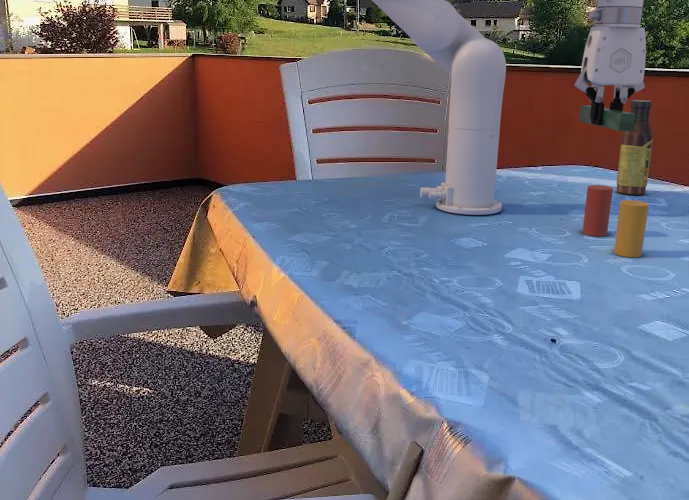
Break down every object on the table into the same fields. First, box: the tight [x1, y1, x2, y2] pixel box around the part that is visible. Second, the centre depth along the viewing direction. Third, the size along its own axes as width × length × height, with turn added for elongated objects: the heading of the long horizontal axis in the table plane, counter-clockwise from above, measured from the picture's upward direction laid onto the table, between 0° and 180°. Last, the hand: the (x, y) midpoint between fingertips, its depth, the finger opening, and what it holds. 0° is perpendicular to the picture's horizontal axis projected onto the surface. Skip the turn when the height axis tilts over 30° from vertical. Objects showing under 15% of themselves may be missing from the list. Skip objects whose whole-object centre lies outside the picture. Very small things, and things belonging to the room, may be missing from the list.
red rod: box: [582, 184, 614, 237], centre depth 119 cm, size 4×4×8 cm
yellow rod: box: [613, 199, 650, 258], centre depth 108 cm, size 4×4×8 cm
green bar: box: [578, 104, 635, 132], centre depth 129 cm, size 16×3×3 cm, turn 7°
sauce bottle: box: [616, 99, 654, 196], centre depth 152 cm, size 7×6×20 cm
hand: (604, 123), depth 130 cm, fingers closed on green bar, 2 cm apart
